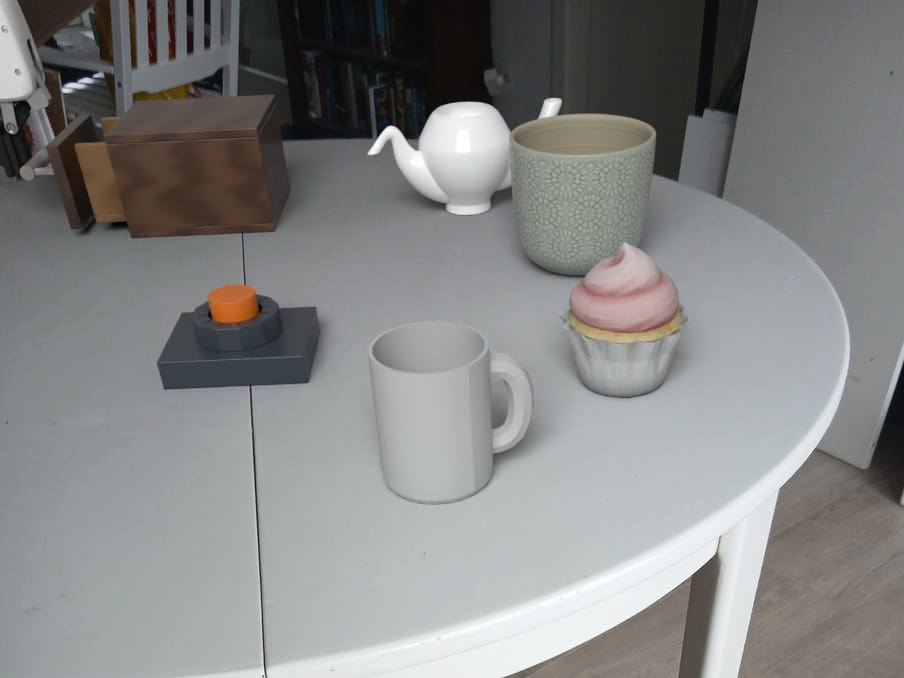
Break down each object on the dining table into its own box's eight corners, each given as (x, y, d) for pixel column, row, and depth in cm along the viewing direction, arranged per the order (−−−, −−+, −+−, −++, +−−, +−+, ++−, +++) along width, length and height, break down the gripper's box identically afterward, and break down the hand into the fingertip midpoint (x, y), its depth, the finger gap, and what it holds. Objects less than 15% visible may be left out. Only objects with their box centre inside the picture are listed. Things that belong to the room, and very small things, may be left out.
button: (208, 327, 74) (203, 304, 73) (217, 307, 77) (212, 285, 76) (255, 324, 74) (251, 302, 73) (262, 305, 77) (258, 283, 76)
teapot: (366, 205, 104) (355, 108, 98) (546, 182, 108) (546, 87, 101) (383, 236, 97) (372, 133, 91) (575, 210, 101) (577, 110, 94)
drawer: (29, 231, 100) (1, 148, 95) (63, 194, 108) (39, 116, 103) (203, 223, 100) (185, 139, 94) (223, 187, 108) (207, 108, 103)
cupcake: (565, 347, 77) (567, 216, 71) (686, 353, 76) (700, 219, 69) (549, 405, 71) (550, 266, 64) (681, 413, 69) (697, 271, 62)
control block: (163, 389, 75) (149, 339, 72) (187, 337, 82) (176, 290, 79) (307, 383, 75) (299, 332, 72) (320, 331, 81) (312, 284, 79)
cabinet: (130, 238, 100) (103, 135, 93) (159, 197, 109) (135, 100, 103) (274, 231, 100) (256, 127, 93) (290, 190, 109) (274, 94, 103)
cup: (376, 455, 66) (360, 328, 61) (520, 434, 68) (519, 309, 62) (391, 514, 61) (375, 382, 55) (547, 491, 62) (548, 359, 56)
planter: (534, 232, 96) (534, 110, 89) (660, 243, 93) (670, 116, 86) (492, 281, 88) (488, 150, 81) (628, 295, 84) (637, 159, 77)
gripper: (-153, -29, 87) (-66, 189, 99) (15, -40, 86) (82, 180, 99) (-117, -43, 92) (-39, 165, 105) (41, -53, 92) (101, 157, 104)
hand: (20, 172), depth 102 cm, fingers closed
